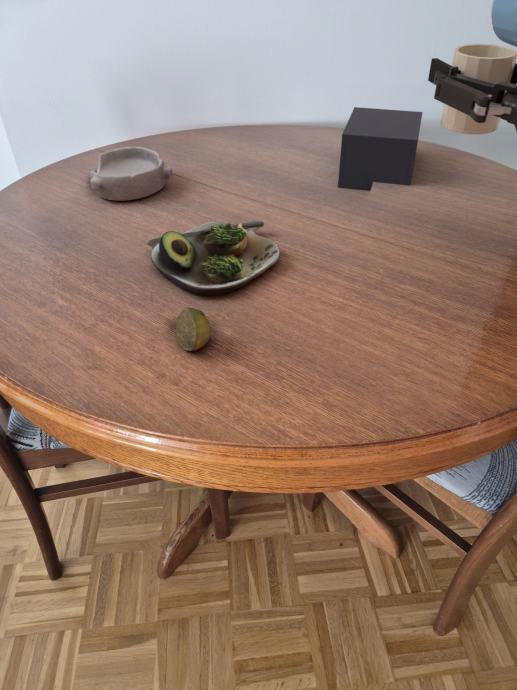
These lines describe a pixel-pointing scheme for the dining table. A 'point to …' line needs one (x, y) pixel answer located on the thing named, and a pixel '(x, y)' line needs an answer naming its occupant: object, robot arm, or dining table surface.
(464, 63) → the cup
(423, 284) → the dining table surface
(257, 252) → the salad plate
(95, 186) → the dish
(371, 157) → the cabinet
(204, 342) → the lime
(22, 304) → the dining table surface
